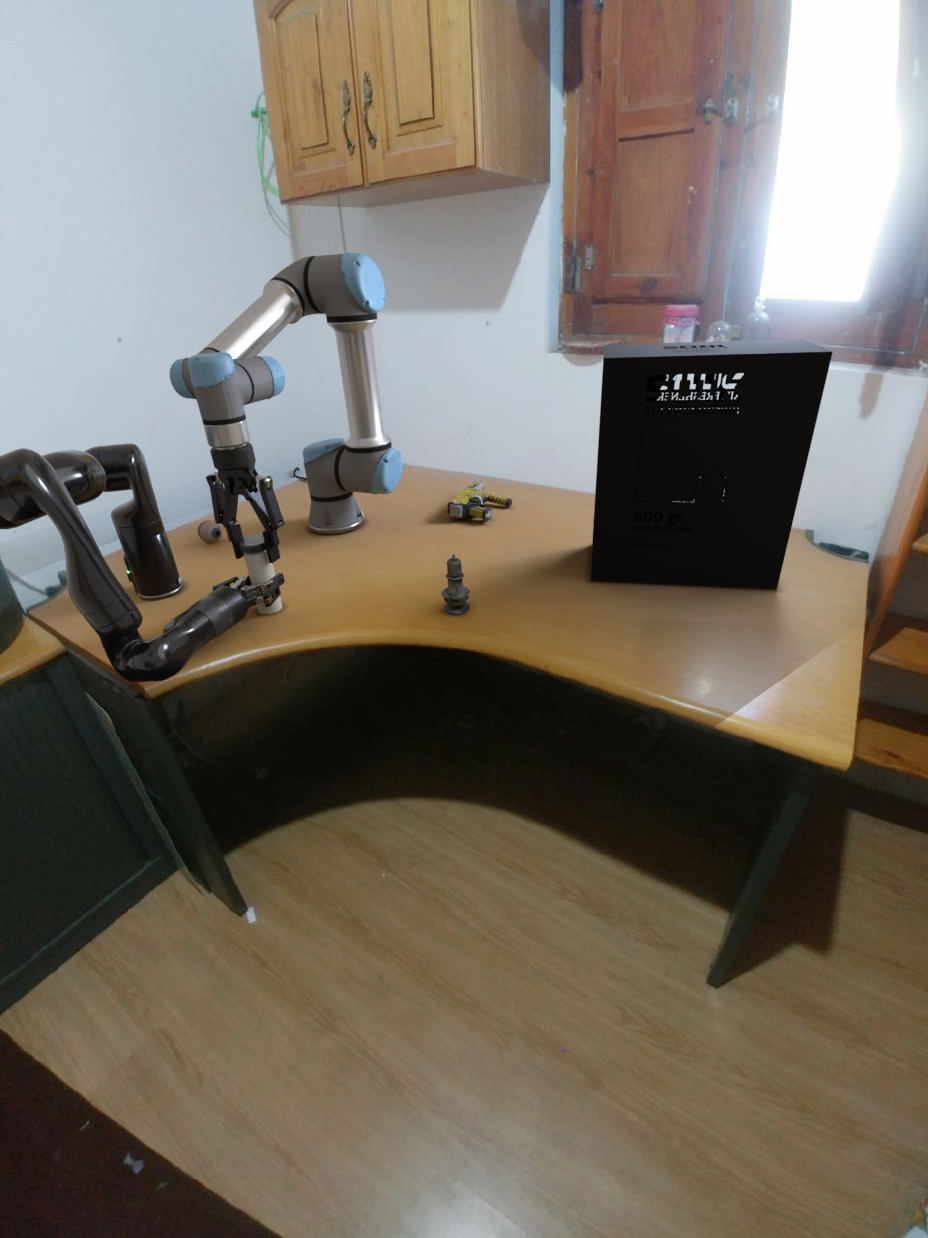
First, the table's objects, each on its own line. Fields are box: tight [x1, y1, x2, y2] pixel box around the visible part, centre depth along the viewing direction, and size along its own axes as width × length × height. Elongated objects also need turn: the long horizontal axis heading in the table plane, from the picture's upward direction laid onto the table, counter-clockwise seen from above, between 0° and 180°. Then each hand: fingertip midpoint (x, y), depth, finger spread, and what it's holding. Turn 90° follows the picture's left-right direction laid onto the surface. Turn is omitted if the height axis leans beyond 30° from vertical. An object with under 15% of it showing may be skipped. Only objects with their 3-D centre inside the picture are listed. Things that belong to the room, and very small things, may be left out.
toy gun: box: [446, 480, 513, 523], centre depth 174 cm, size 5×24×15 cm
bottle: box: [243, 550, 283, 615], centre depth 125 cm, size 5×5×15 cm
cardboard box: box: [589, 338, 834, 590], centre depth 125 cm, size 38×20×45 cm, turn 78°
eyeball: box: [197, 519, 223, 544], centre depth 161 cm, size 6×6×6 cm
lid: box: [239, 534, 266, 554], centre depth 121 cm, size 6×6×2 cm
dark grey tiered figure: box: [441, 553, 471, 615], centre depth 121 cm, size 6×6×12 cm
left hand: (271, 575), depth 127 cm, fingers closed on bottle, 5 cm apart
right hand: (258, 558), depth 122 cm, fingers open, 7 cm apart
